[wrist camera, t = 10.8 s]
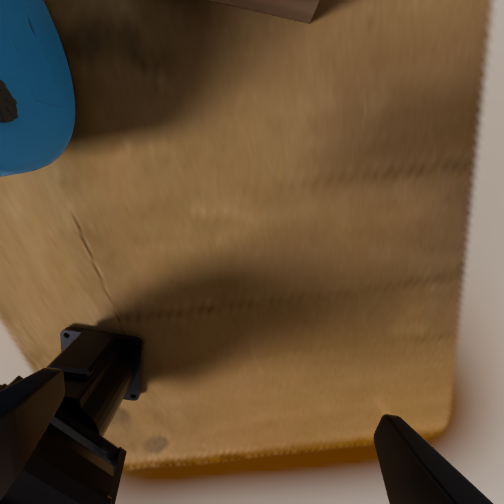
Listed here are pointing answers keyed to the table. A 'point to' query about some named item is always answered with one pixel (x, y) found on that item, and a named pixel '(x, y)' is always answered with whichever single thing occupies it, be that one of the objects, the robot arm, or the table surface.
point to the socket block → (278, 7)
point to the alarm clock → (32, 88)
